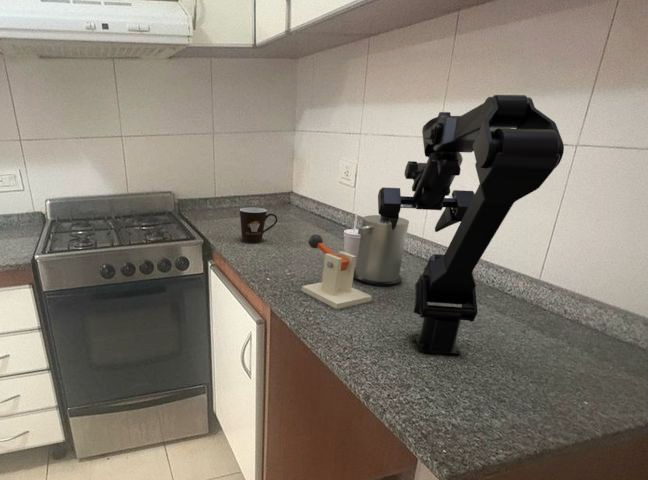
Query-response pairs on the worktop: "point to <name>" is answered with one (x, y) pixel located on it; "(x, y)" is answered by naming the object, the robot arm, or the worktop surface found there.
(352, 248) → the smoothie
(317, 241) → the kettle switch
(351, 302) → the knobbed lever stand
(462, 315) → the robot arm
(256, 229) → the coffee mug
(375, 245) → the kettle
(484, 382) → the worktop surface
